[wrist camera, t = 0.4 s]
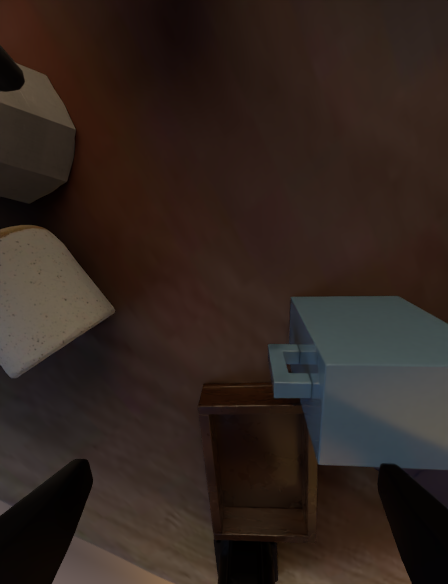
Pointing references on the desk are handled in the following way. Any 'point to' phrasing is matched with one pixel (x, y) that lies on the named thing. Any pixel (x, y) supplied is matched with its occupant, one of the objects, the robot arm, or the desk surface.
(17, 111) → the coffeepot
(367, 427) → the tabbed grey block
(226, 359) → the desk surface
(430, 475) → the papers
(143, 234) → the desk surface
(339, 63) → the desk surface
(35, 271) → the ceramic mug
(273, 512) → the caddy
